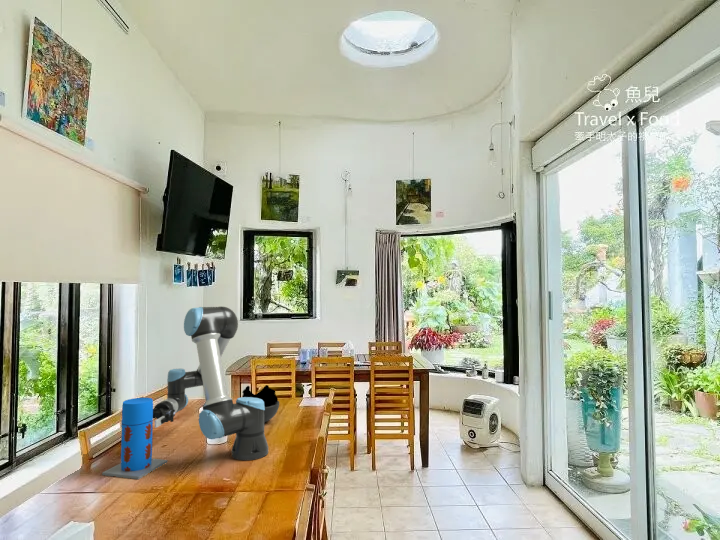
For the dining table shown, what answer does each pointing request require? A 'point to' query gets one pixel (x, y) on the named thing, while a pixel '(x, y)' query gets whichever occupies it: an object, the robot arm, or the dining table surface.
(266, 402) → the coal bowl
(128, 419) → the thermos
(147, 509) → the dining table surface
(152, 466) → the slate tile
